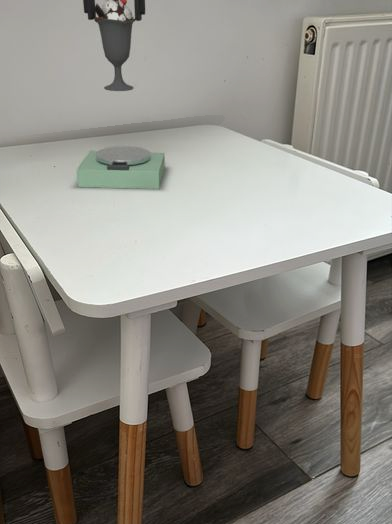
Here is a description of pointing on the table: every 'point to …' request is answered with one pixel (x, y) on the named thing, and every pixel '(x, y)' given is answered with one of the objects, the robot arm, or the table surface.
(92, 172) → the scale
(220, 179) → the table surface
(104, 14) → the sundae
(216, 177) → the table surface
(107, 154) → the scale pan
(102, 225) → the table surface
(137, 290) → the table surface
